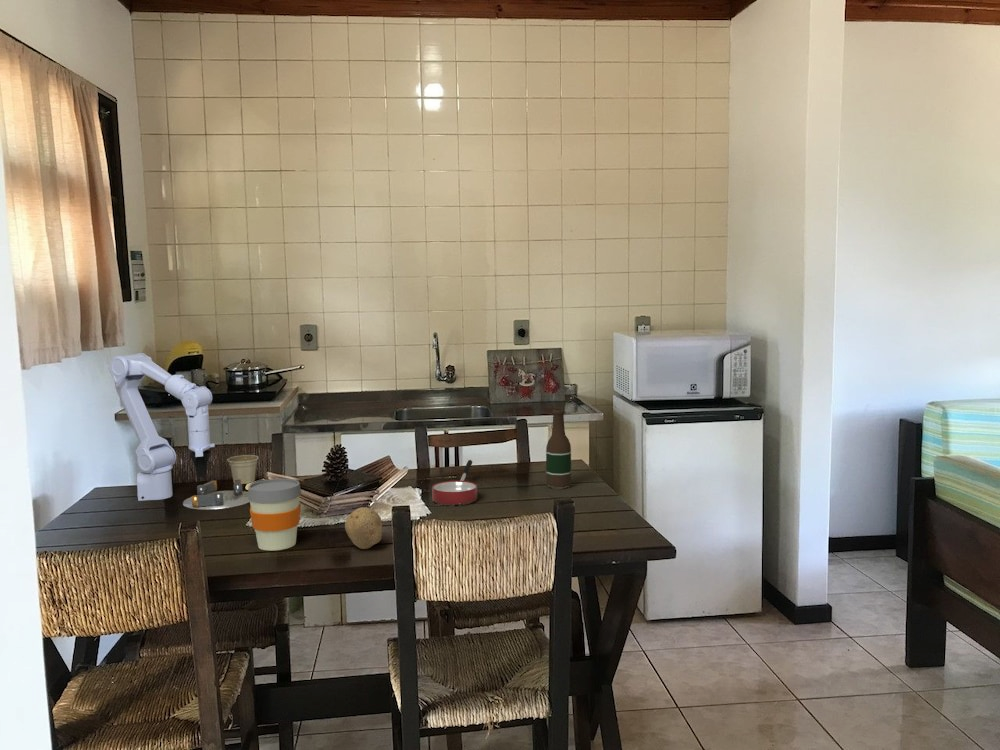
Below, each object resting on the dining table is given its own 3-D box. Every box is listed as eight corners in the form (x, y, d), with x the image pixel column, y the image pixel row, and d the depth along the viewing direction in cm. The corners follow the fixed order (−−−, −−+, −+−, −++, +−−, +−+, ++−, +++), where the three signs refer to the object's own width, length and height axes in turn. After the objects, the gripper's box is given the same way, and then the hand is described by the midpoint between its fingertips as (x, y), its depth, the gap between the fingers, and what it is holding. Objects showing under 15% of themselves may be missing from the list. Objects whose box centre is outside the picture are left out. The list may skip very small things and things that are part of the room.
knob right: (242, 494, 245) (242, 484, 244) (234, 495, 244) (233, 485, 244) (242, 488, 253) (241, 478, 252) (234, 488, 252) (233, 479, 252)
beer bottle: (554, 482, 261) (554, 406, 258) (576, 485, 256) (576, 408, 253) (541, 487, 254) (540, 409, 251) (563, 491, 250) (562, 412, 247)
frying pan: (442, 479, 267) (441, 459, 266) (482, 479, 266) (482, 459, 265) (429, 507, 235) (429, 485, 234) (475, 507, 234) (475, 484, 234)
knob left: (203, 497, 243) (202, 487, 243) (195, 496, 243) (195, 486, 243) (218, 489, 251) (218, 480, 251) (211, 489, 252) (211, 479, 251)
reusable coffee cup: (299, 551, 198) (296, 490, 196) (245, 554, 197) (241, 492, 195) (306, 535, 210) (304, 477, 209) (256, 537, 210) (253, 479, 208)
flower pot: (254, 488, 258) (253, 461, 256) (224, 489, 258) (222, 461, 257) (263, 481, 267) (262, 454, 266) (234, 481, 267) (233, 455, 266)
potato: (349, 542, 205) (348, 502, 204) (385, 541, 205) (384, 502, 204) (343, 554, 196) (341, 513, 194) (381, 553, 196) (379, 512, 195)
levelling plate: (180, 516, 229) (180, 507, 229) (185, 498, 248) (184, 490, 247) (256, 509, 235) (256, 501, 234) (255, 491, 254) (254, 484, 253)
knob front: (223, 502, 237) (223, 492, 237) (223, 504, 235) (223, 494, 234) (192, 505, 234) (191, 494, 234) (191, 507, 232) (191, 497, 232)
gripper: (213, 433, 232) (216, 481, 233) (214, 424, 245) (217, 469, 247) (186, 435, 229) (189, 483, 231) (188, 426, 243) (191, 471, 245)
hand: (201, 476), depth 239 cm, fingers closed
